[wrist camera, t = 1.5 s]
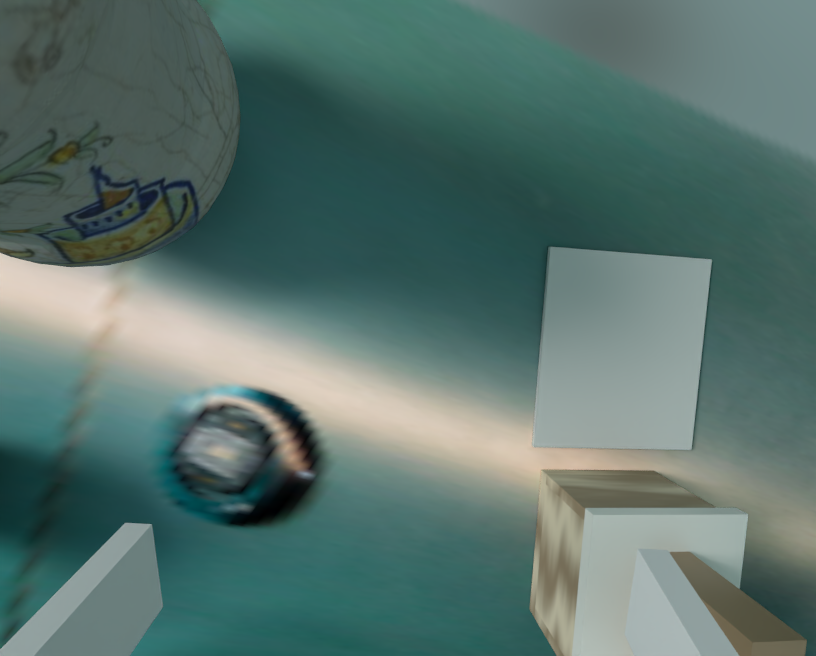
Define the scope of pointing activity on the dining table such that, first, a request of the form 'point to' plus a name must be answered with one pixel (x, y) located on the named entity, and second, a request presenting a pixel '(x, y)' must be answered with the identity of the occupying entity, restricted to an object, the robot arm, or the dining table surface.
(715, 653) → the robot arm
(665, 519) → the lid
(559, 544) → the crate
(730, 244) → the dining table surface
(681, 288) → the tray
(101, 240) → the vase
